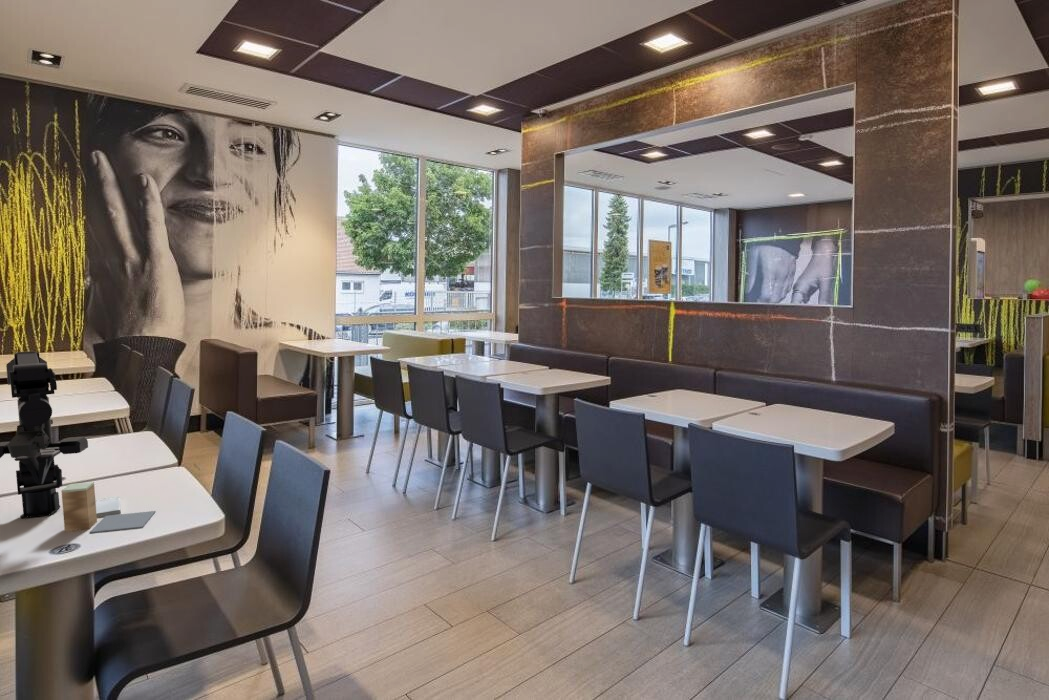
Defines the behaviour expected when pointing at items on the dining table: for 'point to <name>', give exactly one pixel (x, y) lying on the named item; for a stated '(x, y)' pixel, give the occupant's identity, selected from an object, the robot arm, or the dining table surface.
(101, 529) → the grey mat
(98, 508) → the hard drive
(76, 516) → the oak block
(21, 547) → the dining table surface
